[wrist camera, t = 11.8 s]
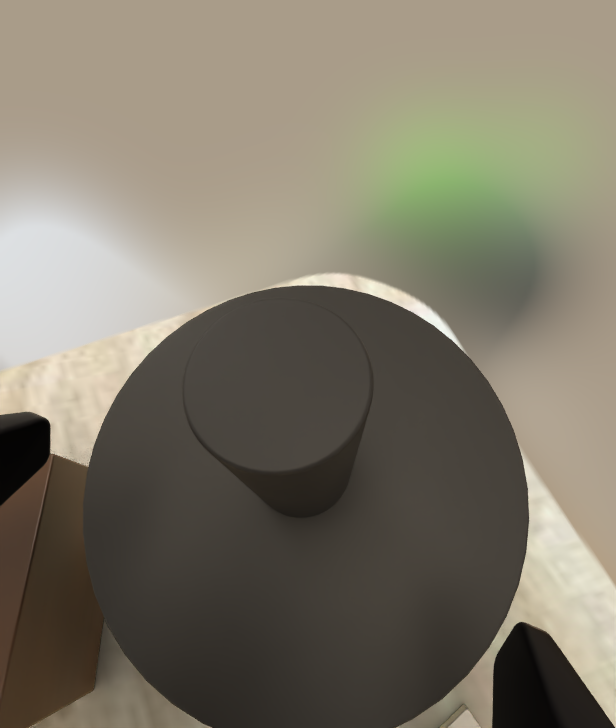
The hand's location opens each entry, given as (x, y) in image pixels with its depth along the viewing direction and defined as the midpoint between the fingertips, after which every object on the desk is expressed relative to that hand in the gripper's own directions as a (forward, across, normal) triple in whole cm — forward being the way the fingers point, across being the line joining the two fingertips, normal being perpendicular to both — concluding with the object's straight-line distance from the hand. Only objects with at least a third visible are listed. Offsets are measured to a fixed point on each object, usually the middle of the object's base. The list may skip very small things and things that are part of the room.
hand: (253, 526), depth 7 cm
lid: (+4, 0, +1) cm, 4 cm away
